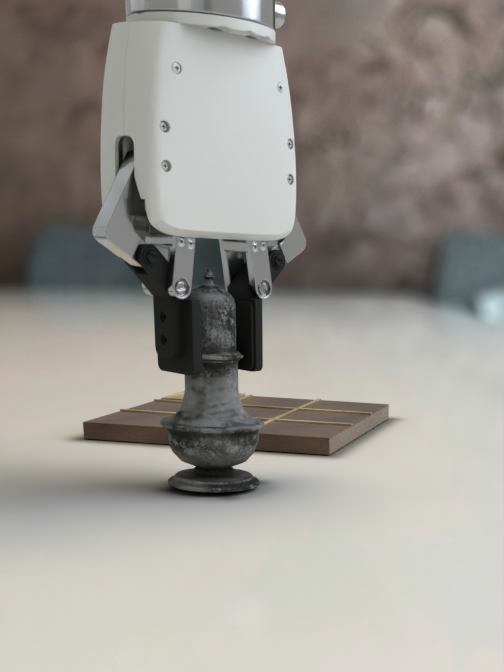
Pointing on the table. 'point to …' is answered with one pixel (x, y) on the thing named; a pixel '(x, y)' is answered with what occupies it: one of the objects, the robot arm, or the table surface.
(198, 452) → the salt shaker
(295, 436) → the board
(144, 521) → the table surface
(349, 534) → the table surface
